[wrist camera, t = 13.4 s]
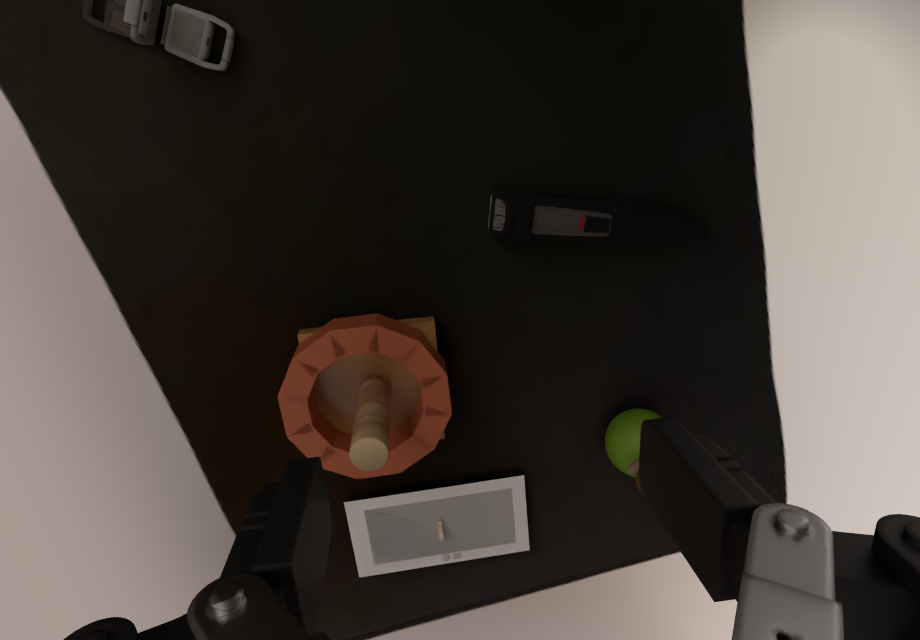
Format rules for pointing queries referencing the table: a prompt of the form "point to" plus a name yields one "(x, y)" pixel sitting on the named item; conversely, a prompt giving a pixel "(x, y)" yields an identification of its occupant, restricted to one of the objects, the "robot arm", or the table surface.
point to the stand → (369, 397)
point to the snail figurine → (627, 440)
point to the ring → (354, 339)
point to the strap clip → (165, 28)
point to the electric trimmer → (591, 221)
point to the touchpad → (438, 526)
